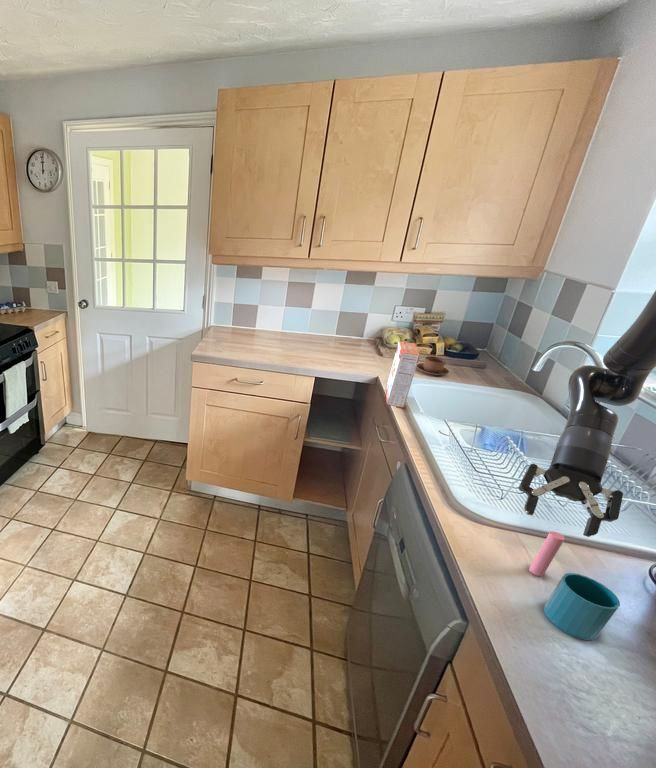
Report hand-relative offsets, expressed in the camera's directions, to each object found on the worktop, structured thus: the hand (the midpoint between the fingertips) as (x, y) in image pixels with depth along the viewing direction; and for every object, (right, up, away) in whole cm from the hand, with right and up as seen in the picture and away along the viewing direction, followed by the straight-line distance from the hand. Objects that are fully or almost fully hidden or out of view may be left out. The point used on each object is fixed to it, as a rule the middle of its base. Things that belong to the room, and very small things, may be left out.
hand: (557, 524), depth 83 cm
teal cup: (-6, -15, -8) cm, 18 cm away
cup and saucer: (+44, +33, +99) cm, 113 cm away
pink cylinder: (-2, -10, +2) cm, 11 cm away
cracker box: (+12, +22, +74) cm, 78 cm away
